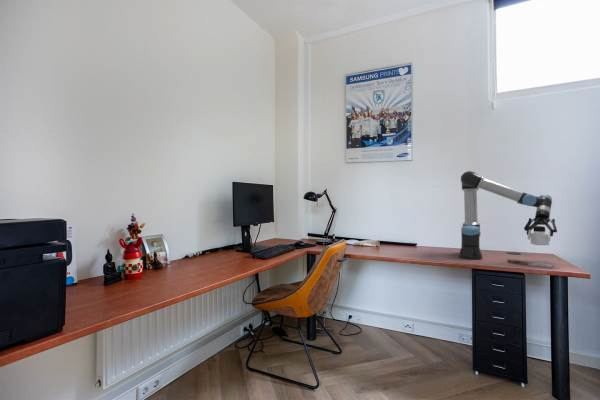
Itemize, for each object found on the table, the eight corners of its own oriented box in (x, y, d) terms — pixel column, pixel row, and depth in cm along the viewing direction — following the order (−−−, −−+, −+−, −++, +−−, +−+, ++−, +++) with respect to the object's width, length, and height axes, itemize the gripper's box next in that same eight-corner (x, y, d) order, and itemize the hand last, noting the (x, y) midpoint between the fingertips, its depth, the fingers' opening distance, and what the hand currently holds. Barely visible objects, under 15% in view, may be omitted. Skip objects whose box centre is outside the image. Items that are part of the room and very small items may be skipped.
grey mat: (530, 265, 195) (530, 264, 195) (534, 263, 201) (533, 262, 201) (550, 267, 187) (550, 267, 187) (553, 265, 194) (553, 264, 194)
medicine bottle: (549, 245, 191) (548, 226, 191) (536, 245, 193) (536, 226, 193) (542, 243, 198) (542, 225, 198) (530, 243, 200) (530, 225, 200)
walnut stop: (507, 262, 204) (507, 259, 203) (507, 262, 204) (507, 259, 204) (527, 265, 195) (527, 262, 195) (527, 265, 196) (527, 261, 196)
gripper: (565, 217, 197) (562, 244, 187) (523, 216, 214) (518, 241, 203) (563, 210, 194) (560, 236, 183) (521, 209, 210) (516, 234, 200)
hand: (538, 239), depth 193 cm, fingers closed on medicine bottle, 10 cm apart
